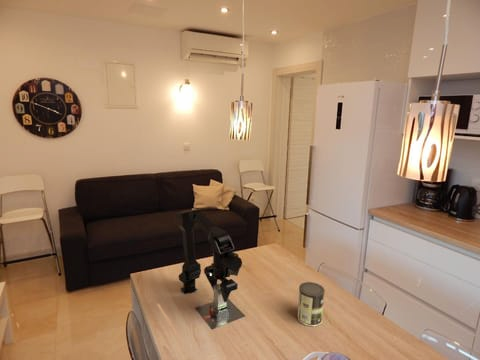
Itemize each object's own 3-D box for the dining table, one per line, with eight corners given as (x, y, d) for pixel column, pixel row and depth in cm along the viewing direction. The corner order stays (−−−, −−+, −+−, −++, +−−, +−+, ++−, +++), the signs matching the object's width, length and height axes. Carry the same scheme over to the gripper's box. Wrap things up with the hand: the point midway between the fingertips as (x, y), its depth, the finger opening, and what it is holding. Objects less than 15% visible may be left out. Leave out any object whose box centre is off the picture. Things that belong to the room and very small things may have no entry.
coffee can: (321, 312, 135) (324, 283, 132) (322, 328, 125) (325, 297, 122) (297, 309, 137) (299, 280, 134) (296, 324, 127) (298, 293, 124)
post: (213, 304, 133) (213, 285, 131) (221, 301, 135) (221, 282, 133) (217, 309, 129) (217, 290, 127) (226, 306, 131) (226, 287, 129)
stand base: (194, 310, 135) (194, 302, 134) (226, 298, 144) (226, 292, 143) (211, 331, 122) (211, 324, 121) (245, 318, 131) (245, 310, 130)
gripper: (249, 266, 124) (248, 301, 128) (225, 249, 140) (225, 280, 143) (224, 273, 118) (224, 310, 122) (203, 254, 134) (203, 287, 137)
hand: (220, 296), depth 131 cm, fingers open, 9 cm apart
